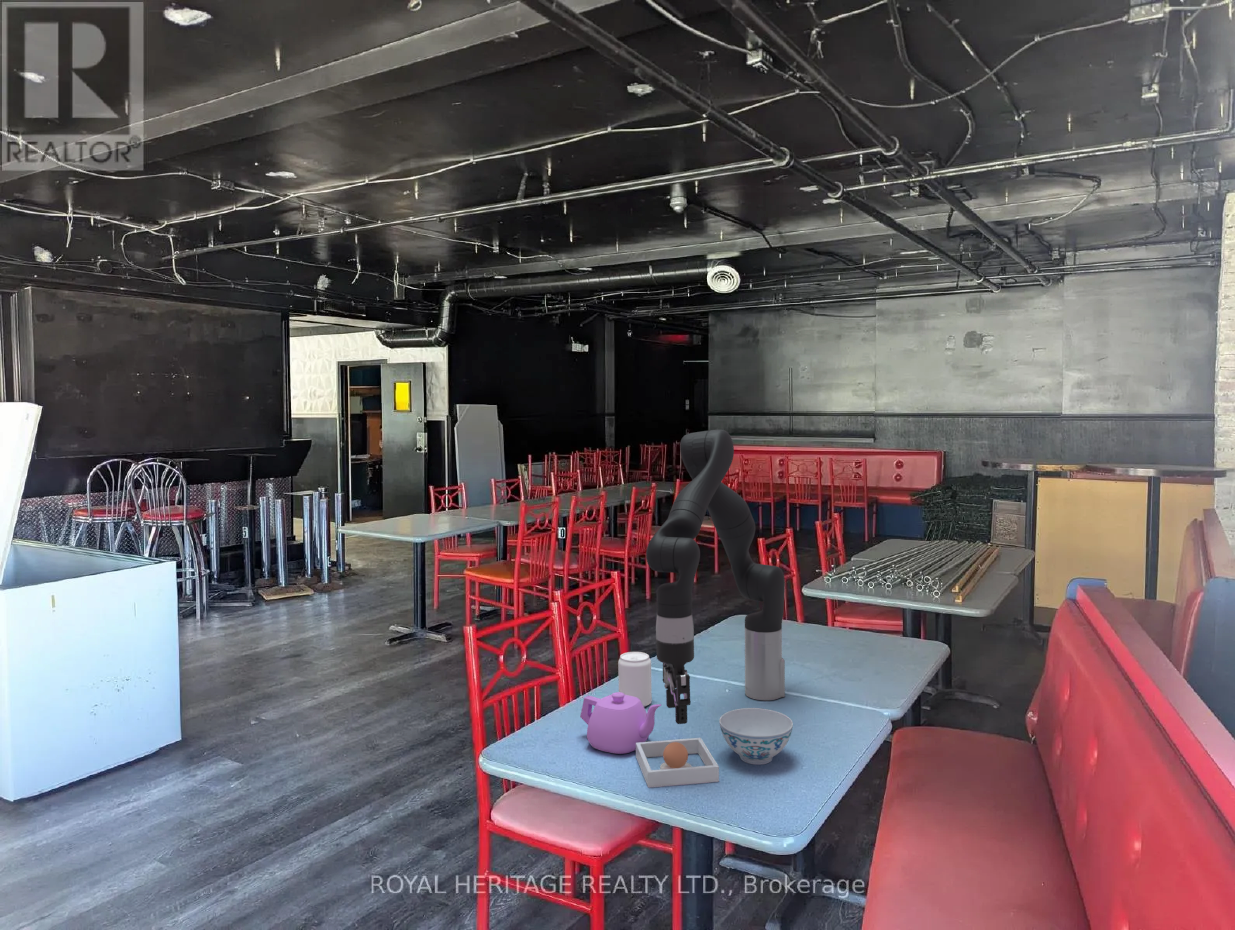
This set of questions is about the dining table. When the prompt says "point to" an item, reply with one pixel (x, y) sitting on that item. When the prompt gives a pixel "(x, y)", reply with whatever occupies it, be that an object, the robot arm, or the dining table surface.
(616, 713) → the teapot
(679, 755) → the ball
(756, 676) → the robot arm
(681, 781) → the grey square frame
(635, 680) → the beverage can
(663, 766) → the disc
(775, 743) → the chinaware
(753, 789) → the dining table surface
